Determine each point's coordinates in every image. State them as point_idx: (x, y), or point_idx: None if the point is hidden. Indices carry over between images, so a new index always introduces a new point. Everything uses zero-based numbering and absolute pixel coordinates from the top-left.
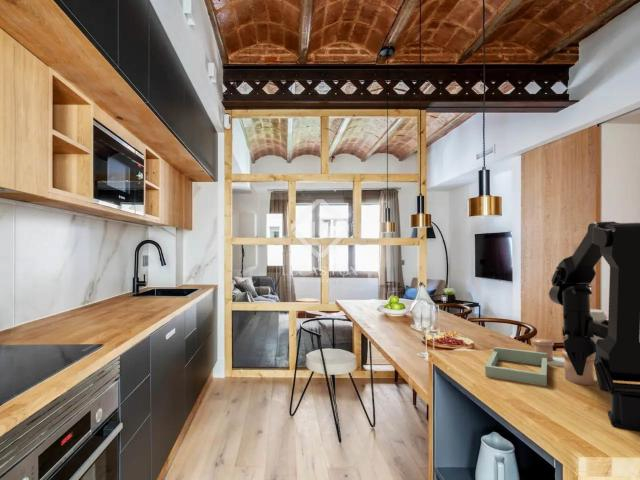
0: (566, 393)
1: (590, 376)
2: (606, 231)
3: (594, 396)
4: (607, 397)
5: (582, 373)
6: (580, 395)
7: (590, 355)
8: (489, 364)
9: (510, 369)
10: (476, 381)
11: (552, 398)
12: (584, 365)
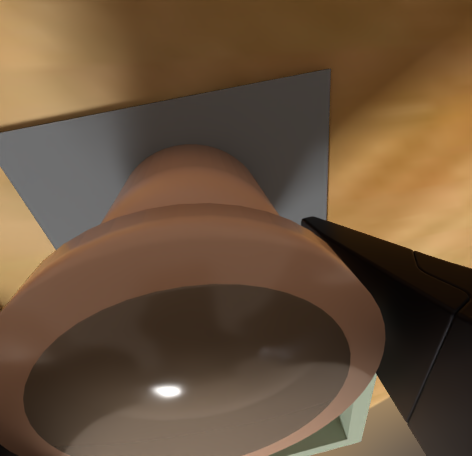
0: (391, 223)
1: (244, 175)
2: None
3: (385, 117)
4: (373, 48)
5: (324, 223)
6: (395, 175)
7: (263, 290)
8: (335, 444)
9: (363, 406)
10: (384, 396)
11: (464, 245)
12: (394, 247)
